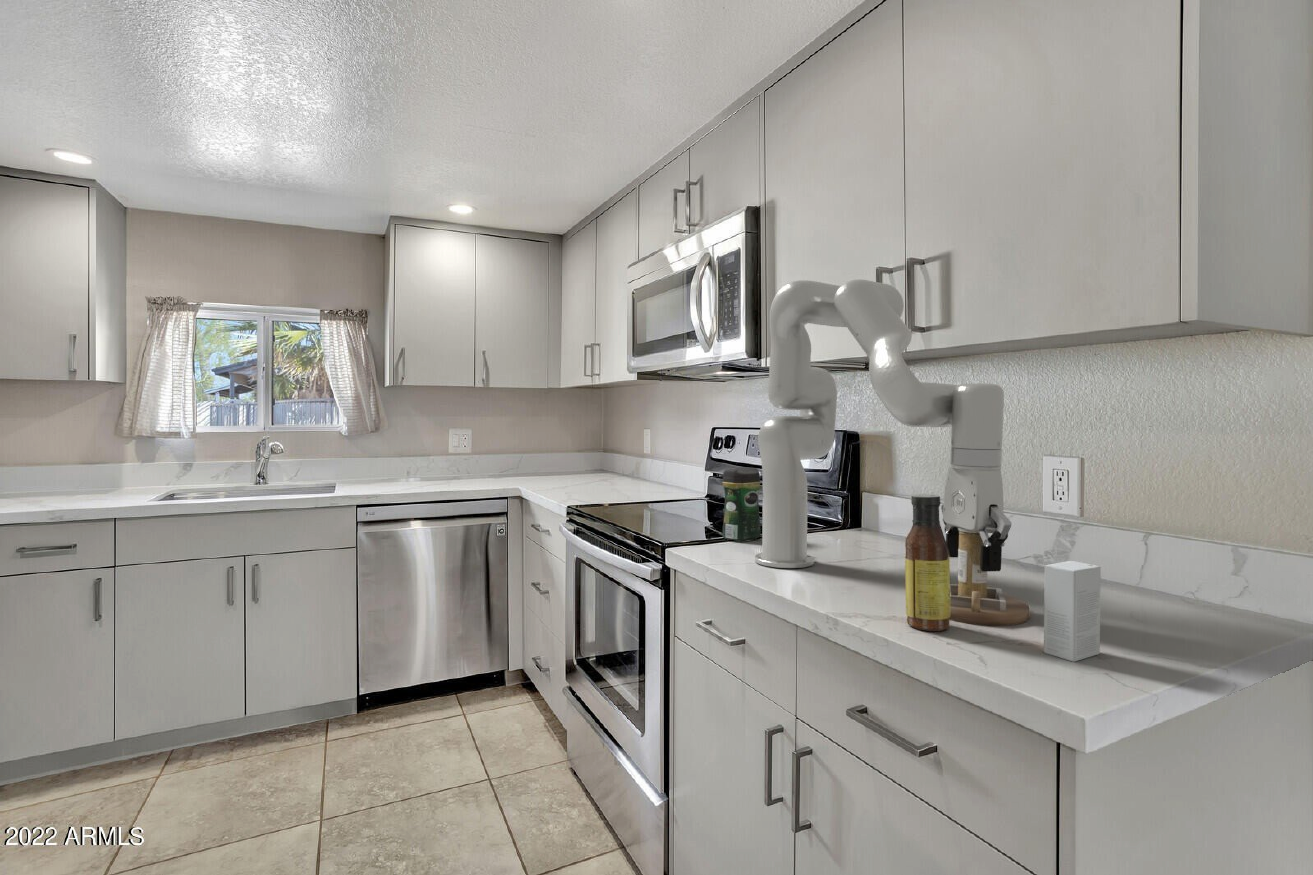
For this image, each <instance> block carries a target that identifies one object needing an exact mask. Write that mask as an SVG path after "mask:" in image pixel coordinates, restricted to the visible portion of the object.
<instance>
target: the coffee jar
mask: <svg viewBox="0 0 1313 875" xmlns="http://www.w3.org/2000/svg"><path fill="white" fill-rule="evenodd" d="M722 486H723V489H724V511H723V524H722V538H723V539H725V540H726V539H728V540H734V541H733V542H740V541H742V542H743V541H745V542H748V541H747V540H751V541H754V539H755V540H758V539H757V538H759V537H760V538H761V537H762V536H761V535H762V533H761V532H762V531H761V520H760V508H759V507H760V506H759V490H760V487H761V475H760V471H759V470H758V468H753V467H744V466H741V467H740V466H739V467H731V468H726V469H724V471H723V473H722ZM760 538H759V539H760ZM728 540H727V541H728Z"/></svg>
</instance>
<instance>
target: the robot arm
mask: <svg viewBox="0 0 1313 875" xmlns="http://www.w3.org/2000/svg"><path fill="white" fill-rule="evenodd" d="M904 308H905V307H904V299H903V296H902V294H901V293H900V291H899V290H898V289H897V288H896V287H895V286H893V285H891V284H889V283H884V282H880V281H879V282H877V281H872V280H868V279H853V280H850V281H847V282H845V283H843V284H842V285H837V284H832V283H831V284H830V283H825V282H821V281H815V280H808V279H807V280H806V279H805V280H803V279H802V280H801V279H800V280H793V281H791V282H789V283H786V284H784V285H783V286H782V287H781V288H780V289H779V290H778V291H777V293H776V294H775V296H774V297H773V300H772V302H771V306H770V309H769V319H768V320H769V334H770V354H769V368H768V369H769V371H768V385H767V391H768V392H767V394H768V398H769V402H770V403H771V405H772V406H774V407H775V408H777V409H781V410H788V411H800V412H799V413H800V414H799V415H797V416H796V415H783V416H782V415H780V416H776V417H772V418H770V419H768V420H766V421H765V422H764V423H763V424H762V425H761V427H760V429H759V431H758V434H757V436H758V438H757V440H758V443H757V444H758V449H759V450H758V451H759V454H760V459H761V470H762V509H761V510H762V517H761V518H762V523H761V525H762V526H761V527H762V528H761V530H762V531H761V532H762V533H761V535H762V536H761V537H762V538H761V541H762V542H761V552H759V553H757V554H755V555H754V561H755V563H757V564H759V565H761V566H763V567H769V568H778V569H802V568H808V567H811V566H813V565H814V564H815V558H814V557H813V556H811V555H810V554H808V552H807V551H808V479H807V474H806V471H805V468H804V466H803V463H802V460H803V461H804V460H808V461H809V460H816V459H820V458H823V457H825V456H826V455H828V454H829V452H830V451H831V449H832V447H833V445H834V444H833V443H834V439H835V429H836V419H837V418H836V415H837V402H838V401H837V400H838V389H837V384H836V381H835V379H834V376H833V375H832V374H831V372H829V371H828V370H826V369H825V368H821V367H817V366H811V361H812V360H811V359H812V358H811V356H812V344H811V343H812V342H811V339H810V336H809V333H808V331H807V329H806V327H805V326H806V325H807V324H812V325H817V326H818V325H820V326H827V327H835V328H847V330H848V331H849V332H850V334H851V335H852V336H853V338H854V339H855V340H856V342H857V343H858V345H859V346H860V347H861V349H862V351H863V352H864V353H865V354H866V356H867V357H868V359H869V362H868V370H869V371H868V373H869V378H870V383H871V385H872V389H873V390H874V392H875V394H876V396H877V397H878V398H879V400H880V401H881V403H882V404H883V406H884V407H885V408H886V410H887V411H888V413H890V414H891V416H892V417H893V418H894V419H895V420H896V421H897V422H899V423H901V424H902V425H904V426H907V427H910V428H926V427H927V428H929V427H930V428H948V427H949V428H950V427H951V430H950V431H951V433H950V434H951V436H950V460H949V461H950V464H949V466H948V467H949V468H948V470H947V474H946V480H945V486H944V495H943V503H942V504H941V505H940V509H941V513H942V522H943V523H944V533H945V541H946V544H947V547H948V550H949V558H958V549H959V530H958V528H961V529H964V530H967V531H971V532H976V531H979V533H980V536H981V538H982V541H983V543H984V545H983V546H981V556H980V570H981V571H984V572H986V571H987V572H1000V571H1001V569H1002V552H1003V551H1002V550H1003V549H1002V548H1003V547H1004V546H1005V544H1006V543H1005V541H1006V540H1007V539H1008V537H1009V533H1010V531H1011V527H1012V521H1011V520H1010V519H1009V518H1008V517H1007V516H1006V514H1004V508H1005V507H1004V503H1005V502H1004V486H1003V476H1002V471H1001V470H1002V462H1003V461H1002V459H1003V458H1002V457H1003V456H1002V455H1003V435H1004V434H1003V432H1004V430H1003V429H1004V428H1003V427H1004V409H1005V408H1004V407H1005V406H1004V403H1005V394H1004V389H1003V387H1001V385H999V384H995V383H964V384H963V383H962V384H959V385H957V384H951V383H950V384H949V383H937V382H924V381H923V382H922V381H920V380H919V379H918V377H917V376H915V373H913V372H912V370H911V369H910V367H909V366H908V364H907V363H906V361H905V360H904V357H903V355H902V353H904V352H905V351H906V349H907V348H908V347H909V346H910V344H911V342H912V336H913V335H912V331H911V329H910V328H909V327H908V326H907V325H906V323H905V322H904V321H903V320H902V319H901V318H902V315H903V312H904ZM989 534H991V535H989Z"/></svg>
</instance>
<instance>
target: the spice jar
mask: <svg viewBox="0 0 1313 875" xmlns="http://www.w3.org/2000/svg"><path fill="white" fill-rule="evenodd" d="M958 530H959V549H958V557H957V580H958V583H957V585H958V595H957V596H965V597H972V591H977V592H980V598H985V599H987V597H986V595H987V593H986V589H987V587H988V586H987V584H988V583H987V582H988V571H986V572H984V571H981V570H980V556H981V546H983V545H984V543H983V541H982V538H981V536H980V533H979V531H976V532H971V531H967V530H964V529H961V528H958Z"/></svg>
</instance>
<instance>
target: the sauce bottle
mask: <svg viewBox="0 0 1313 875" xmlns="http://www.w3.org/2000/svg"><path fill="white" fill-rule="evenodd" d="M910 500H911V502H910V503H911V505H912V526H911V528H910V531H909V533H908V534H907V536H906V537H905V543H904V544H905V545H904V546H905V556H904V565H905V566H904V568H905V569H904V572H905V573H904V574H905V575H904V576H905V580H904V581H905V613H906V614H905V615H906V616H907V617H906V622H907V624H908V625H909V626H910V627H913V628H915V629H917V630H921V631H925V632H926V631H928V632H941V631H945V630H946V631H947V629H949V628H950V621H951V620H950V584H951V578H950V577H951V575H950V572H951V568H950V557H949V550H948V547H947V544H946V537H945V535H944V532H943V529H942V526H941V522H940V507H941V505H942V503H941V496H940V495H938V494H924V493H922V494H921V493H920V494H912V495H911V498H910Z"/></svg>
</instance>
